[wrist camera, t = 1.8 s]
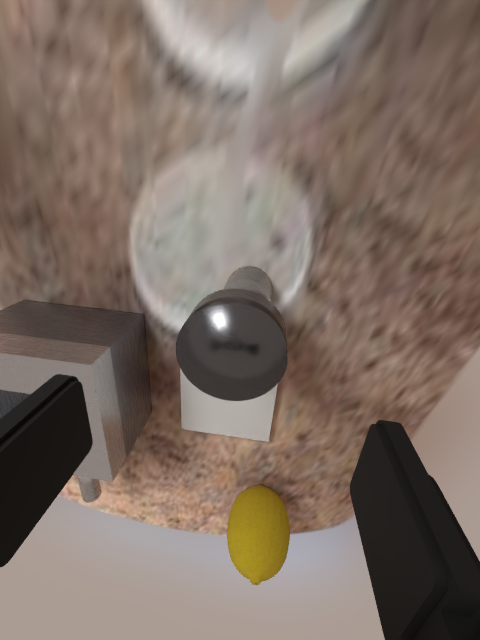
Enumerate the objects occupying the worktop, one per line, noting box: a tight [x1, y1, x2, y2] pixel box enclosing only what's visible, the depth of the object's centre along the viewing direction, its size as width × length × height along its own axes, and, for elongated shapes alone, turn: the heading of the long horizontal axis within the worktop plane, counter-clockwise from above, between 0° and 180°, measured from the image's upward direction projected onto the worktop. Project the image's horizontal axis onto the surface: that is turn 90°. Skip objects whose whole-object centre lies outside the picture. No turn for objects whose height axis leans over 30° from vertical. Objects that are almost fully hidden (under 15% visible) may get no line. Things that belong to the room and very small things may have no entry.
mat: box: [180, 368, 278, 442], centre depth 24 cm, size 10×8×1 cm
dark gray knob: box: [176, 266, 287, 401], centre depth 16 cm, size 5×5×9 cm
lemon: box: [227, 485, 290, 585], centre depth 26 cm, size 6×6×8 cm
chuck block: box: [0, 300, 152, 502], centre depth 23 cm, size 18×10×7 cm, turn 176°
